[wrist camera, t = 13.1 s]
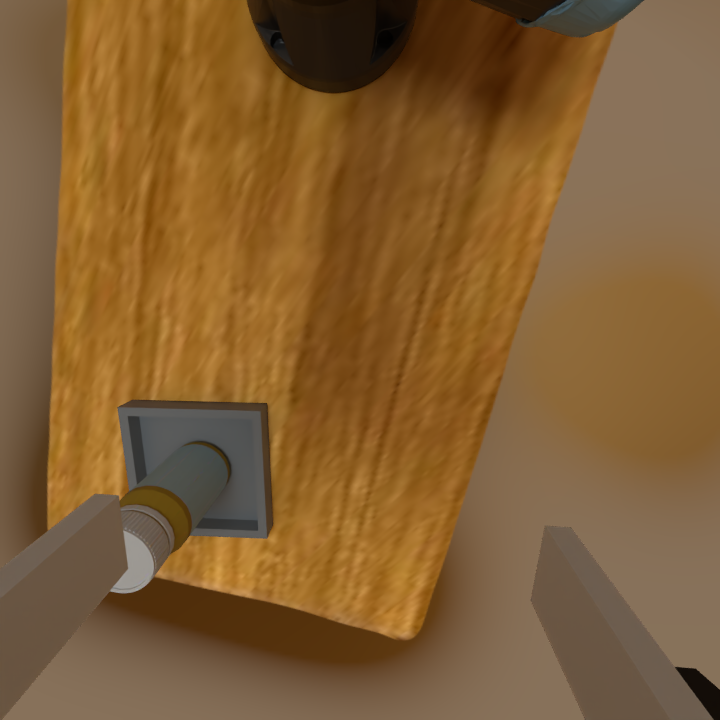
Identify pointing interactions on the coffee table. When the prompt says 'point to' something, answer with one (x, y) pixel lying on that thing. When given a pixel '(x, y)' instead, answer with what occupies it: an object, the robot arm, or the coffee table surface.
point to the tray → (227, 434)
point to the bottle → (168, 509)
